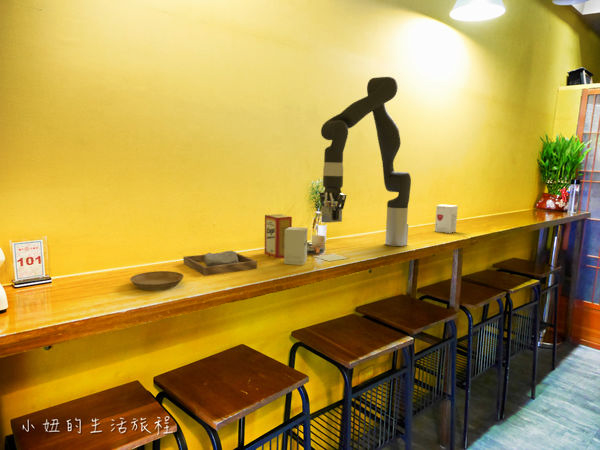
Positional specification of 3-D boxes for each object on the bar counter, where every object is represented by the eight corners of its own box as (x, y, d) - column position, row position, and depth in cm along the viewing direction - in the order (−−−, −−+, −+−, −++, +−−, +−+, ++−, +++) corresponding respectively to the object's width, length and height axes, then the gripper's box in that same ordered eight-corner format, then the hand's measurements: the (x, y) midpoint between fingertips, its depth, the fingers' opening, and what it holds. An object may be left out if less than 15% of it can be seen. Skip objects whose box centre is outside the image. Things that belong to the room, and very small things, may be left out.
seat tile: (332, 253, 170) (332, 253, 170) (348, 258, 162) (348, 257, 162) (312, 256, 164) (312, 255, 164) (328, 261, 156) (328, 260, 156)
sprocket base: (311, 247, 183) (311, 245, 183) (330, 252, 173) (330, 251, 173) (286, 250, 176) (286, 248, 176) (304, 255, 165) (304, 254, 165)
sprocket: (332, 249, 176) (332, 234, 175) (315, 254, 164) (315, 238, 164) (303, 245, 184) (303, 230, 183) (285, 250, 172) (285, 234, 171)
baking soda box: (291, 256, 164) (291, 215, 161) (276, 258, 160) (277, 216, 158) (278, 252, 171) (279, 213, 169) (264, 253, 168) (264, 214, 166)
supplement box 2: (434, 231, 235) (435, 205, 232) (440, 230, 241) (442, 204, 239) (450, 233, 229) (452, 206, 227) (456, 231, 236) (458, 205, 233)
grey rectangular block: (337, 220, 165) (337, 204, 165) (343, 221, 162) (344, 205, 161) (319, 221, 160) (319, 205, 159) (325, 222, 157) (326, 206, 156)
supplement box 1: (303, 265, 150) (304, 230, 148) (283, 264, 151) (283, 229, 149) (307, 260, 157) (308, 227, 155) (288, 259, 158) (288, 226, 156)
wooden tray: (232, 257, 159) (232, 251, 159) (256, 268, 144) (257, 261, 144) (183, 263, 148) (183, 256, 148) (204, 275, 133) (204, 268, 133)
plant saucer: (155, 276, 132) (154, 268, 131) (194, 282, 126) (193, 274, 126) (118, 289, 118) (118, 280, 118) (160, 296, 113) (160, 286, 112)
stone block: (240, 271, 147) (235, 259, 156) (240, 258, 146) (235, 247, 155) (206, 274, 144) (203, 262, 153) (205, 261, 142) (203, 250, 151)
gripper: (353, 175, 155) (351, 221, 158) (328, 174, 167) (327, 217, 169) (337, 175, 151) (336, 222, 153) (313, 174, 162) (312, 218, 165)
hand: (331, 219), depth 161 cm, fingers closed on grey rectangular block, 4 cm apart
